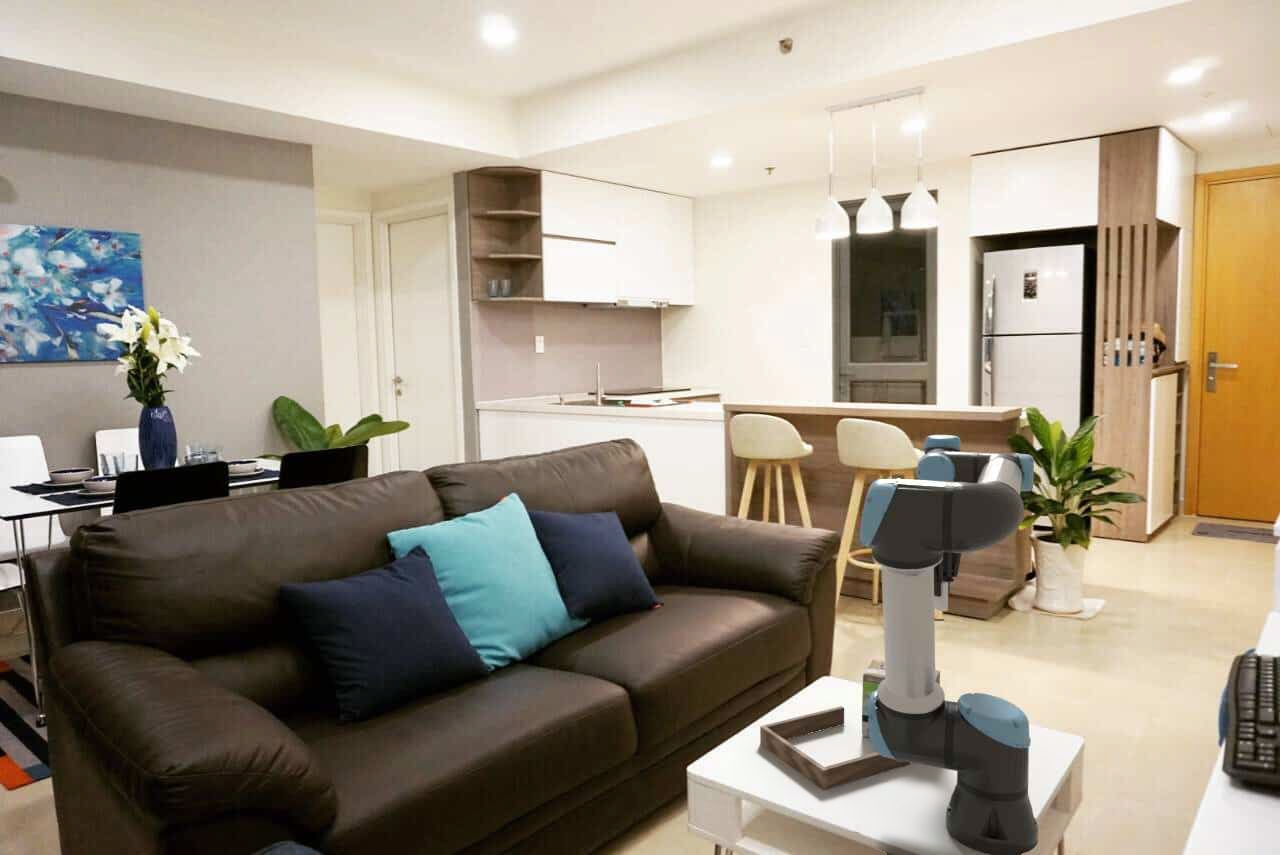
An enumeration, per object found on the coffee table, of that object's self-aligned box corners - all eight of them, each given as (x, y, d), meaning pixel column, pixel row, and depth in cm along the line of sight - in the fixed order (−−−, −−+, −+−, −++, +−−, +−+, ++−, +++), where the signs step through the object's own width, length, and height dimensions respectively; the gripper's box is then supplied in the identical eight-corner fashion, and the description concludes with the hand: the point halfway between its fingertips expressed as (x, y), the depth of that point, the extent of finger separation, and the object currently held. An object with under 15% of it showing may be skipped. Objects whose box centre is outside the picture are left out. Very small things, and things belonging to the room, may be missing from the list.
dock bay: (910, 764, 177) (910, 745, 177) (823, 790, 168) (823, 770, 167) (841, 723, 197) (841, 706, 196) (760, 743, 187) (760, 726, 187)
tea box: (860, 738, 189) (861, 673, 188) (871, 720, 198) (871, 658, 197) (932, 752, 182) (933, 684, 181) (939, 732, 191) (940, 668, 190)
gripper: (950, 499, 195) (949, 600, 198) (907, 505, 190) (906, 609, 192) (977, 504, 189) (975, 609, 191) (932, 511, 183) (931, 619, 186)
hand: (940, 609), depth 192 cm, fingers closed
